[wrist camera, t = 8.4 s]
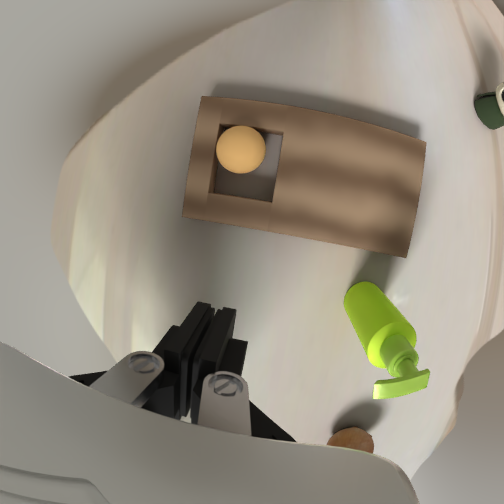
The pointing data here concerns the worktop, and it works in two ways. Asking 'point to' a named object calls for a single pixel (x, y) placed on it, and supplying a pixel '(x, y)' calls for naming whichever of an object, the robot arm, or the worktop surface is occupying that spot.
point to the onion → (352, 439)
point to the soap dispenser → (385, 340)
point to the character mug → (491, 108)
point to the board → (313, 176)
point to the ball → (240, 149)
